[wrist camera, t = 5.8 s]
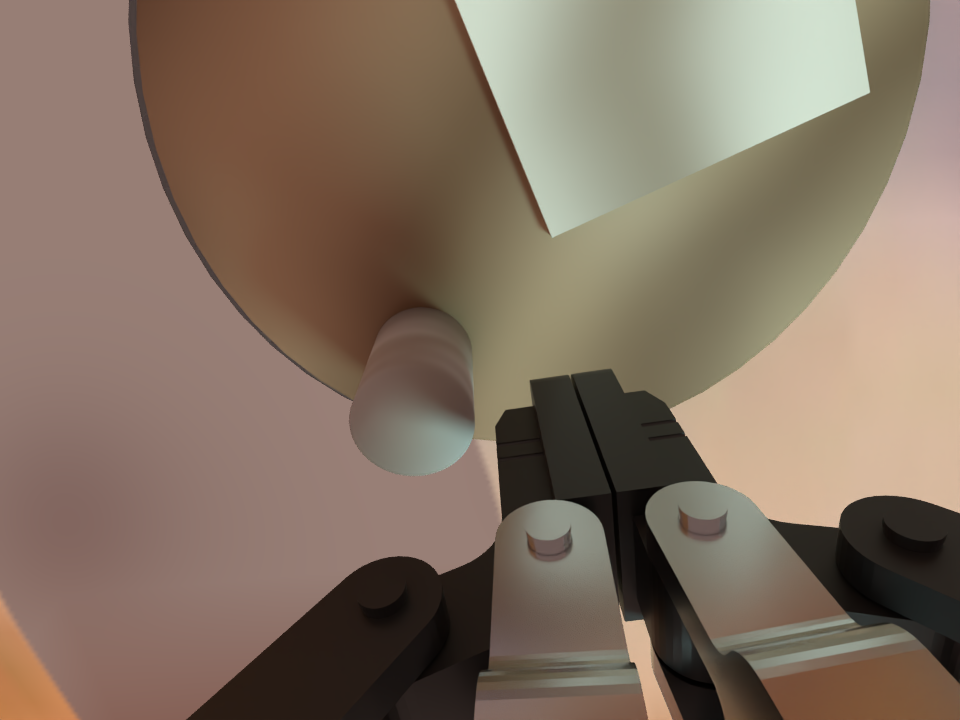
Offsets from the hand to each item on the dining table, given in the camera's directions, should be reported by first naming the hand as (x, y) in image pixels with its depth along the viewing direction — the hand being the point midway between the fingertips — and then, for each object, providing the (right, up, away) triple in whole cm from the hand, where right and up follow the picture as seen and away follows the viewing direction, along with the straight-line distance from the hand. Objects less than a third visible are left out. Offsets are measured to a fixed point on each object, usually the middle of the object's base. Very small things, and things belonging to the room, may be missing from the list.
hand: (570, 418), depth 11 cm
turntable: (-1, +7, +3) cm, 8 cm away
